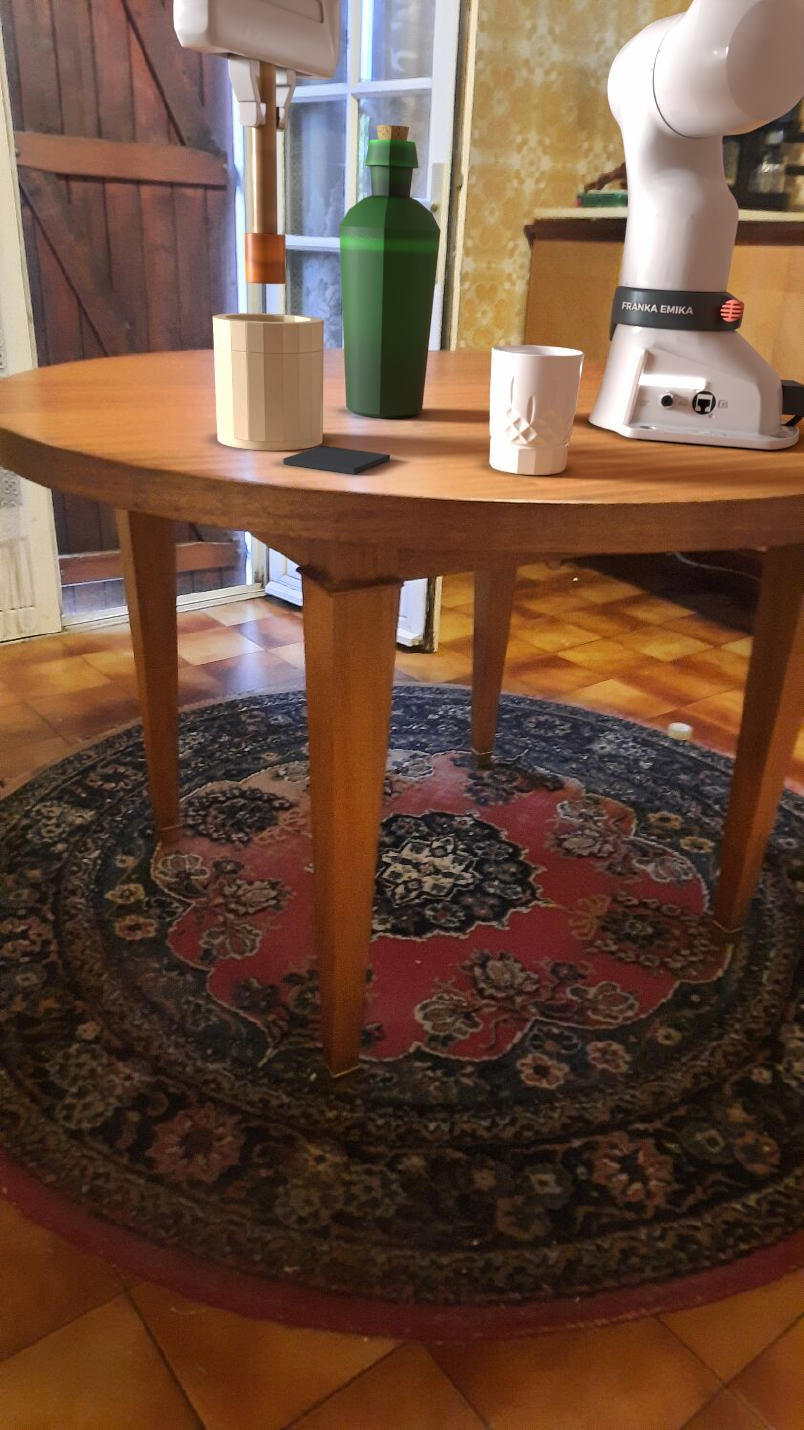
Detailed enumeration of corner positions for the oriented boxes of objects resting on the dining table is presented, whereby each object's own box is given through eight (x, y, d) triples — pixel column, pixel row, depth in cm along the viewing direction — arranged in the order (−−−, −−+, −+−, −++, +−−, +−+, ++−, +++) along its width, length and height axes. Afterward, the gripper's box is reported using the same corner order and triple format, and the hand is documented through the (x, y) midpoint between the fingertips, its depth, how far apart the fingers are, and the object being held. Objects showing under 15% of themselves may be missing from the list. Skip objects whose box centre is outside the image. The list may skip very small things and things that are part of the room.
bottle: (434, 408, 119) (448, 133, 107) (427, 423, 109) (442, 124, 97) (343, 402, 120) (348, 129, 108) (329, 418, 110) (332, 119, 98)
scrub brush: (293, 283, 93) (292, 64, 86) (272, 284, 90) (269, 57, 83) (259, 281, 94) (255, 65, 87) (237, 282, 91) (232, 58, 84)
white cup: (502, 478, 87) (512, 355, 83) (470, 459, 94) (478, 344, 89) (586, 476, 89) (600, 356, 85) (549, 457, 96) (560, 345, 92)
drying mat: (390, 460, 92) (390, 454, 92) (354, 474, 86) (354, 468, 86) (321, 451, 94) (322, 445, 94) (283, 464, 89) (282, 458, 88)
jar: (340, 438, 100) (342, 319, 96) (288, 455, 92) (287, 325, 87) (254, 426, 104) (251, 311, 99) (196, 442, 96) (190, 317, 91)
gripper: (220, -112, 71) (226, 116, 77) (354, -43, 88) (351, 140, 94) (146, -105, 73) (158, 116, 79) (291, -40, 90) (292, 139, 96)
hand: (264, 129), depth 87 cm, fingers closed on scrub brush, 2 cm apart
